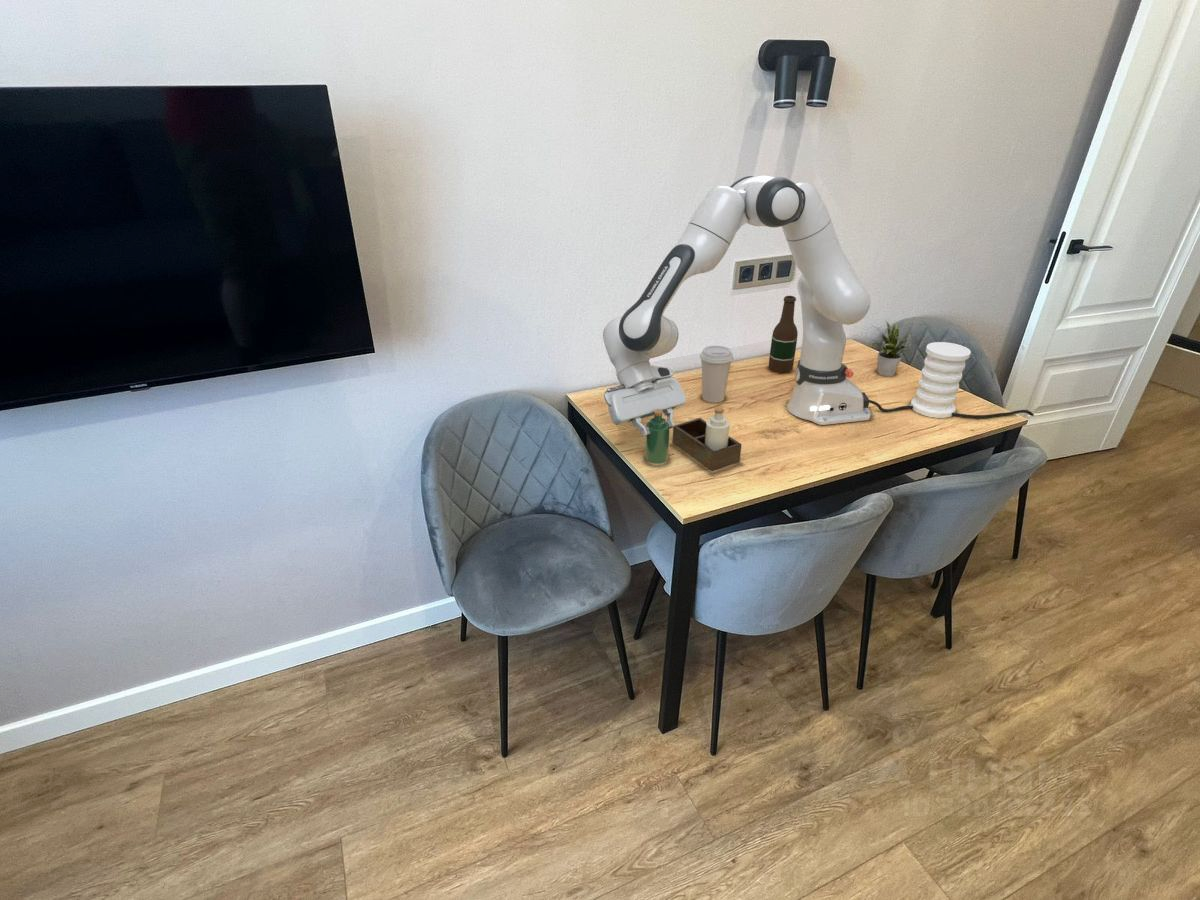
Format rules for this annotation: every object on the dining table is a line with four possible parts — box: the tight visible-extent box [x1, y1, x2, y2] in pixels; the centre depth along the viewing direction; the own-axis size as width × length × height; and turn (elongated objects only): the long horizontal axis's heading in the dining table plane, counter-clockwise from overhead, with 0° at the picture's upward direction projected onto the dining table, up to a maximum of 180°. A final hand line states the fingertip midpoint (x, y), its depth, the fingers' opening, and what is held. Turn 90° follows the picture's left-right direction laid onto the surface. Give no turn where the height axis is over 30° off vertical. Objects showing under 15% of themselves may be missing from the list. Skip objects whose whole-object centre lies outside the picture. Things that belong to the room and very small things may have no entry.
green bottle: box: [645, 409, 670, 465], centre depth 157 cm, size 6×6×14 cm
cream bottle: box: [705, 406, 731, 451], centre depth 155 cm, size 6×6×14 cm
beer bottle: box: [768, 295, 799, 375], centre depth 203 cm, size 8×8×24 cm
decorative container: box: [909, 341, 972, 419], centre depth 178 cm, size 12×12×18 cm
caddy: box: [672, 417, 743, 472], centre depth 161 cm, size 16×9×6 cm, turn 30°
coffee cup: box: [699, 345, 734, 404], centre depth 187 cm, size 10×10×15 cm
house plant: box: [870, 320, 918, 377], centre depth 202 cm, size 14×14×16 cm
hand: (659, 431), depth 155 cm, fingers closed on green bottle, 5 cm apart
